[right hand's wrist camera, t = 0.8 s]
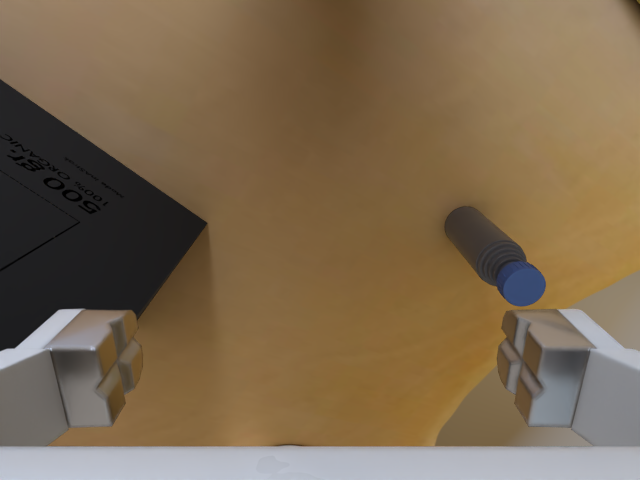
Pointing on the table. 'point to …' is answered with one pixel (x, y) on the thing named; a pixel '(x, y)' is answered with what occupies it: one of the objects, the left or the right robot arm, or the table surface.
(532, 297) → the cap
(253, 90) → the table surface
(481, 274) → the bottle
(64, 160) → the black boxy piece
